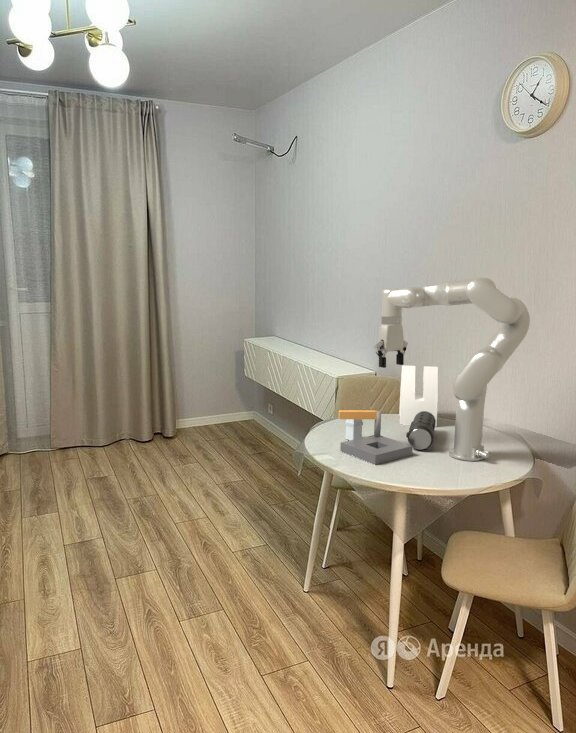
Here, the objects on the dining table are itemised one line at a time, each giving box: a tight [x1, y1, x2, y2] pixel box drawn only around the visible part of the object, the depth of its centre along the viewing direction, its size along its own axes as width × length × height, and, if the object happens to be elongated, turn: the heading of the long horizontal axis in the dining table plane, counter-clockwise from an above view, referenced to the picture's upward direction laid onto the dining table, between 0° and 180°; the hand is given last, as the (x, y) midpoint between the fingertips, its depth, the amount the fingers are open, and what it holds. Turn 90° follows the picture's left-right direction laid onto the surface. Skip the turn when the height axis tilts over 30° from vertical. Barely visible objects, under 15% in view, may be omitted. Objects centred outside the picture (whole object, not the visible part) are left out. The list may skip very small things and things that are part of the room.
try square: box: [338, 409, 382, 437], centre depth 219 cm, size 16×2×10 cm, turn 93°
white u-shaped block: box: [398, 364, 439, 427], centre depth 256 cm, size 19×15×25 cm
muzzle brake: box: [405, 411, 437, 451], centre depth 226 cm, size 10×28×10 cm
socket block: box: [339, 434, 414, 466], centre depth 211 cm, size 18×19×4 cm
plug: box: [344, 419, 364, 440], centre depth 226 cm, size 5×5×10 cm
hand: (391, 365), depth 219 cm, fingers open, 9 cm apart
